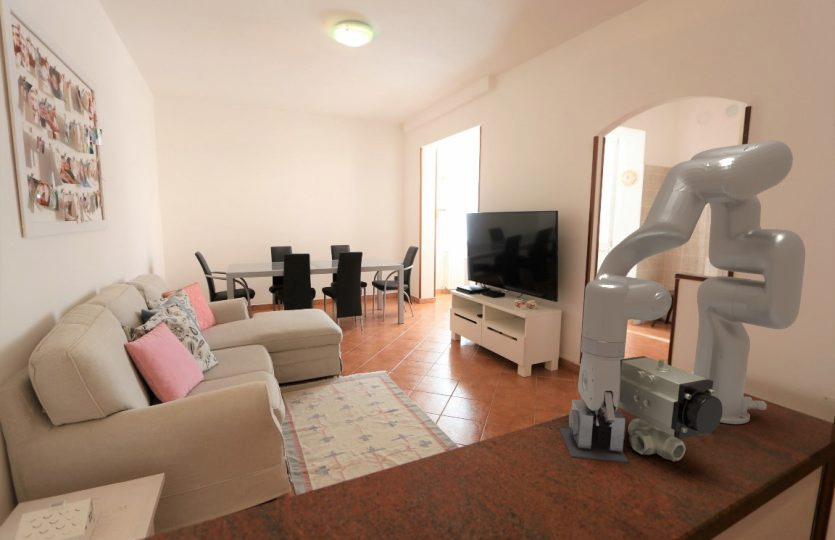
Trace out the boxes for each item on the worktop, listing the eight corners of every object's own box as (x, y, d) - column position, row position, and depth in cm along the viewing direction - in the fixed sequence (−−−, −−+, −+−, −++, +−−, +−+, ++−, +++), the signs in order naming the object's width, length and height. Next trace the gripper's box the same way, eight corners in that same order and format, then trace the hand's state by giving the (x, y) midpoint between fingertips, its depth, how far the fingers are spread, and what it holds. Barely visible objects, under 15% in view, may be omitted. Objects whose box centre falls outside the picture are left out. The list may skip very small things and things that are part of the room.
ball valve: (597, 430, 83) (604, 348, 80) (628, 424, 86) (635, 344, 83) (682, 484, 66) (693, 382, 64) (716, 474, 69) (728, 376, 67)
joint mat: (609, 433, 82) (609, 432, 81) (628, 462, 72) (628, 461, 72) (559, 429, 83) (559, 427, 83) (570, 457, 73) (571, 455, 73)
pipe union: (613, 433, 80) (616, 402, 79) (625, 451, 73) (628, 418, 73) (566, 429, 81) (569, 399, 80) (575, 447, 75) (577, 414, 74)
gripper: (571, 332, 84) (565, 414, 86) (595, 360, 67) (587, 461, 69) (608, 334, 83) (601, 417, 85) (643, 363, 66) (633, 465, 68)
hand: (595, 435), depth 77 cm, fingers closed on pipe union, 4 cm apart
